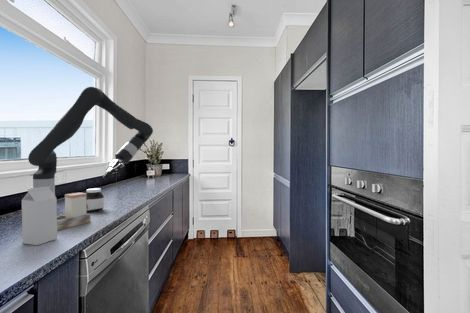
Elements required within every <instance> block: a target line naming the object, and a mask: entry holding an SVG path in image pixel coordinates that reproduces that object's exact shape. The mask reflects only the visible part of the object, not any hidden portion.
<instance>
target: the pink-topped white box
mask: <svg viewBox="0 0 470 313" xmlns="http://www.w3.org/2000/svg"><path fill="white" fill-rule="evenodd" d="M86 193H87V192H71V193H65V194H64V207H65V208H64V211H65V212H64V215H65V219H67V218H72V217H77V216H82V215H87V212H86V196H87V194H86Z"/></svg>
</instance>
